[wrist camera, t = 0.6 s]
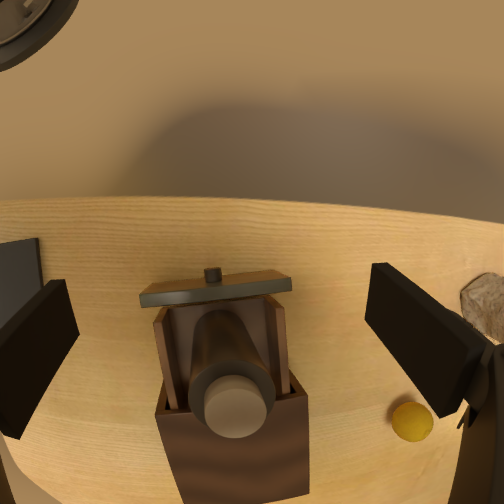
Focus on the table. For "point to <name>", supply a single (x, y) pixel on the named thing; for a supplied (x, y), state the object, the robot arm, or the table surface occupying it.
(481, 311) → the decorative stone
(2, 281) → the trivet mat
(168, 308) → the drawer
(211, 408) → the thermos bottle
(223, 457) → the cabinet
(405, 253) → the table surface
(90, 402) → the table surface
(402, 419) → the lemon
